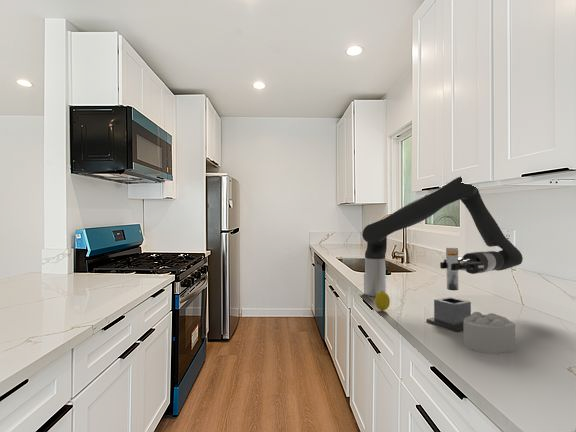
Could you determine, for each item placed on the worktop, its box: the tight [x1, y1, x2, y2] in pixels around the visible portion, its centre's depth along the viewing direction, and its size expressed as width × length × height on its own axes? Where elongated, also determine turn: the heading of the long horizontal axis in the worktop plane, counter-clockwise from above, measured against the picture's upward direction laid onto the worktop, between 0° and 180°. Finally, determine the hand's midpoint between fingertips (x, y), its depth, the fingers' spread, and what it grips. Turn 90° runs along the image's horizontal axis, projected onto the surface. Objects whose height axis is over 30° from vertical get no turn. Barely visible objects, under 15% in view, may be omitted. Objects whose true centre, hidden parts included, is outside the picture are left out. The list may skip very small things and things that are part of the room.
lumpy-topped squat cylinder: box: [463, 311, 517, 354], centre depth 96 cm, size 10×13×9 cm
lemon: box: [374, 291, 391, 312], centre depth 131 cm, size 6×6×8 cm
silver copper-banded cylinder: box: [445, 247, 459, 291], centre depth 115 cm, size 4×4×14 cm
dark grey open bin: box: [426, 296, 472, 333], centre depth 115 cm, size 12×11×8 cm
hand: (446, 266), depth 113 cm, fingers closed on silver copper-banded cylinder, 3 cm apart
